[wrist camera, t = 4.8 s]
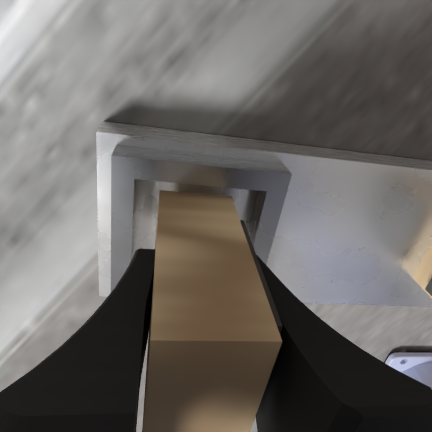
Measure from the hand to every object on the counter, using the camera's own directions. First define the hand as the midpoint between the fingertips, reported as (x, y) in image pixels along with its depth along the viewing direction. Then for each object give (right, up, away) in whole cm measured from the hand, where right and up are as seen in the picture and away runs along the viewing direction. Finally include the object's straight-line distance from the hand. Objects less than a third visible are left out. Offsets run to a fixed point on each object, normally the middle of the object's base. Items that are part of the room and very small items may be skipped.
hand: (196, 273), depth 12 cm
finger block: (0, +1, +2) cm, 2 cm away
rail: (+5, +2, +5) cm, 7 cm away
